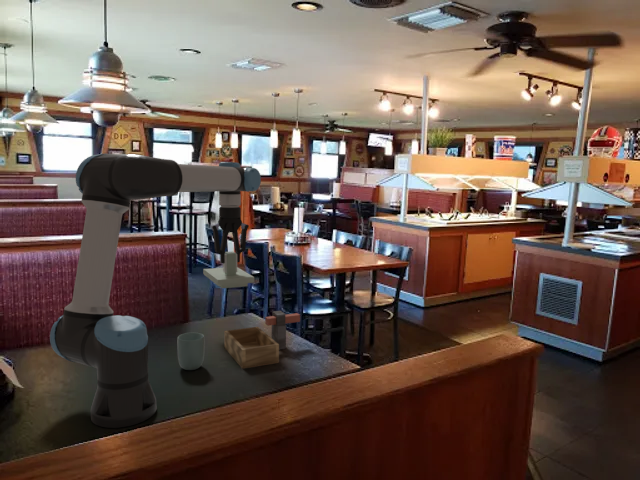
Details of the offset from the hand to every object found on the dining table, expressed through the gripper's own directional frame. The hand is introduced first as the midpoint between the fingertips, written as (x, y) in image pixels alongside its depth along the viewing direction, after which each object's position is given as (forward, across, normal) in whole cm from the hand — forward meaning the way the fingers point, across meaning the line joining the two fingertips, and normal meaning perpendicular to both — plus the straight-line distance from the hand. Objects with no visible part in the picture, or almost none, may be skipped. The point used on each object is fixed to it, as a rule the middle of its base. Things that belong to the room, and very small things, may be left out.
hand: (230, 271), depth 175 cm
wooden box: (+24, -4, +20) cm, 32 cm away
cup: (+25, +19, +23) cm, 39 cm away
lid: (+5, 0, -3) cm, 5 cm away
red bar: (+16, -14, +16) cm, 27 cm away
